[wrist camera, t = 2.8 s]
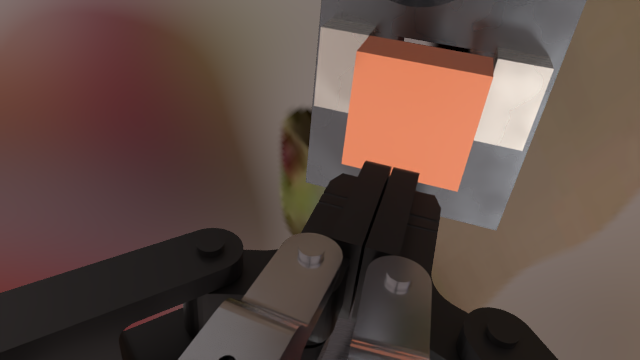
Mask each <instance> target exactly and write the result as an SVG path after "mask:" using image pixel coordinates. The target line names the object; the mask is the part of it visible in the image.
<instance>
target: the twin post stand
mask: <svg viewBox="0 0 640 360" xmlns="http://www.w3.org/2000/svg"><path fill="white" fill-rule="evenodd" d="M585 3H586V0H322V2H321V13H320V25H319V36H318V48H317V59H316V71H315V83H314V94H313V105H312V117H311V129H310V140H309V152H308V163H307V175H306V182H307V183H311V184H315V185H319V186H323V187H327V186H328V184H329V182H330V181H331V180H332V179H334V178H336V177H337V176H339V175H341V174H342V173H344V174H348V175H353V176H357V177H358V175H359V173H360V171H361V168H357V167H353V166H348V165H344V164H341V163H342V156H343V148H344V141H345V134H346V126H347V119H348V111H349V104H350V97H351V89H352V82H353V74H354V67H355V60H356V52H357V50H358V49H359V48H360V46H361V45H362V44H363V43H364V42H365V40H366V39H367V38H368V37H369V35H371V36H376V37H382V38H387V39H393V40H398V41H404V37H405V38H411V39H416V40H422V41H428V42H433V43H439V44H445V45H450V46H456V47H461V48H467V49H468V53H470V54H476V55H481V56H487V57H492V58H493V80H492V83H491V86H490V89H489V93H488V96H487V99H486V102H485V105H484V109H483V112H482V115H481V118H480V121H479V125H478V128H477V131H476V134H475V137H474V141H473V144H472V147H471V150H470V153H469V157H468V160H467V163H466V166H465V169H464V173H463V176H462V179H461V182H460V185H459V189H458V192H456V191H452V190H448V189H444V188H440V187H435V186H431V185H427V184H423V183H419V182H417V186H416V190H415V191H418V192H422V193H427V194H431V195H435V197H436V199H437V201H438V203H439V205H440V207H441V213H440V216H441V217H445V218H449V219H453V220H457V221H461V222H465V223H469V224H473V225H477V226H481V227H485V228H489V229H493V230H497V227H498V225H499V222H500V219H501V217H502V214H503V212H504V209H505V207H506V204H507V202H508V199H509V197H510V194H511V191H512V189H513V186H514V184H515V181H516V179H517V176H518V174H519V171H520V168H521V166H522V163H523V161H524V158H525V156H526V153H527V151H528V148H529V146H530V143H531V140H532V138H533V135H534V133H535V130H536V128H537V125H538V123H539V120H540V117H541V115H542V112H543V110H544V107H545V105H546V102H547V100H548V97H549V95H550V92H551V89H552V87H553V84H554V82H555V79H556V77H557V74H558V72H559V69H560V66H561V64H562V61H563V59H564V56H565V54H566V51H567V49H568V46H569V44H570V41H571V38H572V36H573V33H574V31H575V28H576V26H577V23H578V21H579V18H580V15H581V13H582V10H583V8H584V5H585ZM354 302H355V301H354ZM353 307H354V304H353ZM353 307H352V310H351V313H350V316H349V319H348V320H345V319H342V318H339V317H338V319H337V322H336V325H335V328H334V330H333V332H332V334H331V335H330V340H329V344H328V347H327V349H326V351H325V353H324V355H323V357H322V360H347V359H348V354H349V350H350V345H351V341H352V337H353V332H354V327H355V322H352V321H351V317H352V312H353Z"/></svg>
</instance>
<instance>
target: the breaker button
mask: <svg viewBox="0 0 640 360" xmlns="http://www.w3.org/2000/svg"><path fill="white" fill-rule="evenodd" d="M492 80H493V58H492V57H487V56H481V55H476V54H470V53H465V52H459V51H454V50H448V49H443V48H437V47H432V46H426V45H420V44H415V43H409V42H404V41H398V40H393V39H387V38H382V37H376V36H371V35H369V37H368V38H367V39H366V40H365V42H364V43H363V44H362V45H361V46H360V48H359V49H358V50H357V52H356V60H355V67H354V74H353V82H352V89H351V97H350V104H349V111H348V119H347V126H346V134H345V141H344V148H343V156H342V163H341V164H344V165H348V166H353V167H357V168H361V169H362V166H363V164H364V162H365V161H371V162H375V163H379V164H383V165H387V166H391V167H392V168H391V172H392V170H393V167H396V168H401V169H405V170H409V171H413V172H417V173H420V174H419V178H418V182H419V183H423V184H427V185H431V186H435V187H440V188H444V189H448V190H452V191H456V192H458V189H459V185H460V182H461V179H462V176H463V173H464V169H465V166H466V163H467V160H468V157H469V153H470V150H471V147H472V144H473V141H474V137H475V134H476V131H477V128H478V125H479V121H480V118H481V115H482V112H483V109H484V105H485V102H486V99H487V96H488V93H489V89H490V86H491V83H492ZM390 175H391V174H390Z"/></svg>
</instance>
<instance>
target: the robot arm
mask: <svg viewBox="0 0 640 360" xmlns="http://www.w3.org/2000/svg"><path fill="white" fill-rule="evenodd" d="M391 168H392V167H391V166H387V165H383V164H379V163H375V162H371V161H365V162H364V164H363V166H362V169H361V171H360V173H359V175H358V177H357V176H353V175H348V174H344V173H342V174H341V175H339V176H337V177H336V178H334V179H332V180H331V181H330V182H329V184H328V186H327V187H326V189H325V191H324V194H323V195H322V196H321V198H320V200H319V203H318V204H317V205H316V207H315V209H314V211H313V212H312V214H311V216H310V218H309V220H308V221H307V223H306V225H305V227H304V229H303V230H302V232H301V233H300V234H296V235H293V236H291V237H289V238H288V239H286V240H285V241H284V242H283V243H282V245H281V246H280V248H279V249H277V250H268V251H262V250H261V251H260V250H243V244H242V241H241V240H240V238H239V237H238V236H237V235H235V234H234V233H232V232H230V231H227V230H225V229H219V228H207V229H201V230H198V231H195V232H192V233H188V234H185V235H182V236H179V237H176V238H172V239H170V240H166V241H163V242H160V243H157V244H153V245H150V246H147V247H144V248H141V249H138V250H135V251H131V252H128V253H125V254H122V255H119V256H116V257H113V258H110V259H106V260H103V261H100V262H97V263H94V264H90V265H87V266H85V267H81V268H78V269H75V270H72V271H68V272H65V273H62V274H59V275H56V276H53V277H50V278H47V279H43V280H40V281H37V282H34V283H31V284H28V285H24V286H21V287H18V288H15V289H12V290H9V291H5V292H2V293H0V360H322V357H323V355H324V353H325V351H326V349H327V347H328V344H329V340H330V335H331V334H332V332H333V330H334V328H335V325H336V322H337V319H338V317H339V318H342V319H345V320H348V319H349V316H350V313H351V310H352V307H353V304H354V307H353V312H352V317H351V321H352V322H355V327H354V332H353V337H352V341H351V345H350V350H349V354H348V359H347V360H558V359H557V358H556V357H555V356H554V354H553V353H552V352H551V351H550V350H549V349H548V348H547V347H546V345H545V344H544V343H543V342H542V341H541V340H540V339H539V338H538V336H537V335H536V334H535V333H534V332H533V331H532V330H531V329H530V328H529V326H528V325H527V324H526V323H524V322H523V321H522V320H521V319H519V318H518V317H516V316H515V315H513V314H511V313H509V312H506V311H504V310H501V309H496V308H490V307H487V308H478V309H476V310H473V311H472V312H470V313H469V314H468V313H467V312H465V311H463V310H461V309H459V308H458V307H456V306H454V305H453V304H451V303H450V302H448V301H447V300H446V299H444V298H443V297H442V296H441V295H440V293H439V292H438V291H437V290H436V288H435V286H434V284H433V282H432V277H431V271H432V265H433V258H434V252H435V245H436V239H437V232H438V226H439V220H440V213H441V207H440V205H439V203H438V201H437V199H436V197H435V195H431V194H427V193H422V192H418V191H415V190H416V186H417V182H418V178H419V174H420V173H417V172H413V171H409V170H405V169H401V168H396V167H393V170H392V172H391ZM390 174H391V175H390ZM354 301H355V302H354ZM180 304H183V308H181V309H178V310H176V311H173V312H171V313H169V314H166V315H163V316H161V317H158V318H156V319H153V320H151V321H148V322H146V323H143V324H141V325H138V326H136V327H133V328H131V329H128V330H126V331H123V330H124V329H125V328H126V327H128V326H129V325H131V324H132V323H135V322H137V321H140V320H142V319H145V318H147V317H149V316H152V315H155V314H157V313H160V312H162V311H165V310H167V309H170V308H172V307H175V306H177V305H180Z"/></svg>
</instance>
